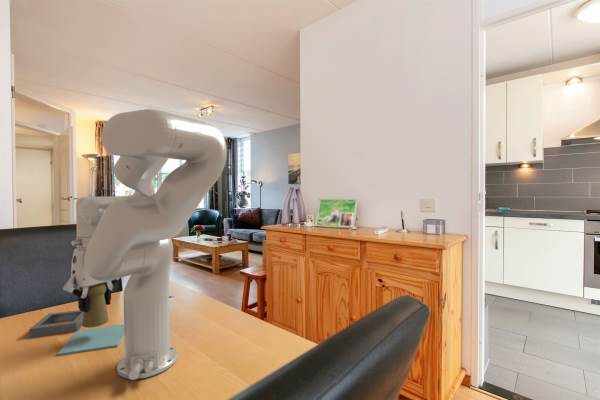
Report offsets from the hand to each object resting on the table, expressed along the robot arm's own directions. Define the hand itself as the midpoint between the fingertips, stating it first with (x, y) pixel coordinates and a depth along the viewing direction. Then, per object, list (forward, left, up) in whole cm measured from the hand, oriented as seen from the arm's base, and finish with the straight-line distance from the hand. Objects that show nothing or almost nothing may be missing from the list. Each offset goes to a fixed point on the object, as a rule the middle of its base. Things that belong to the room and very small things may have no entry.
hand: (95, 306), depth 81 cm
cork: (0, 0, -5) cm, 5 cm away
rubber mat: (0, 0, -9) cm, 9 cm away
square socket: (+12, +12, -9) cm, 20 cm away
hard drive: (+27, -10, -10) cm, 31 cm away
